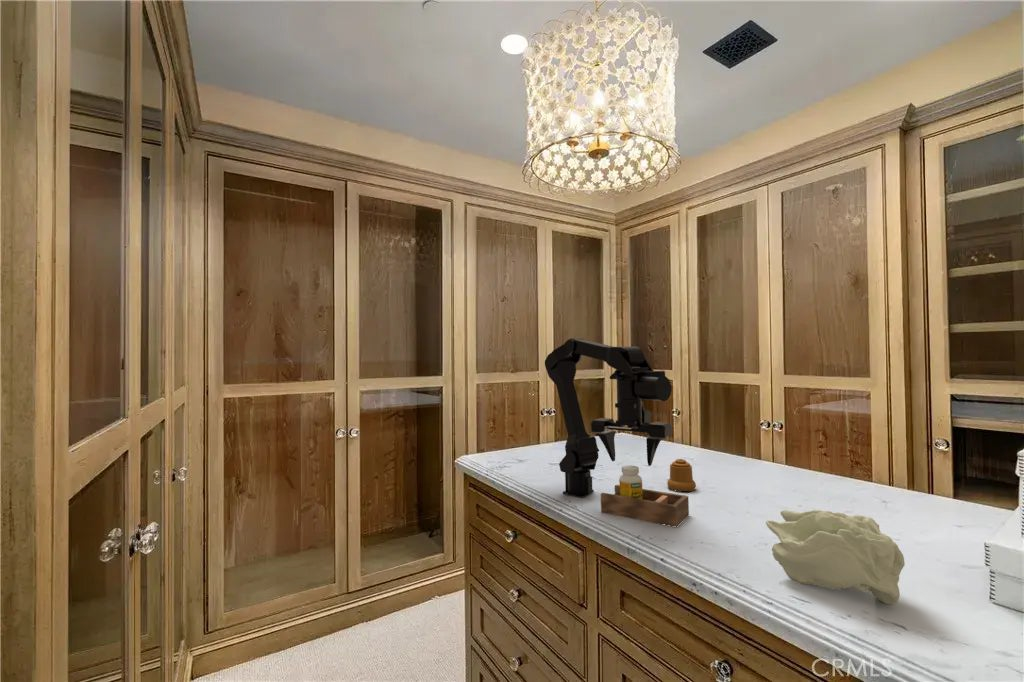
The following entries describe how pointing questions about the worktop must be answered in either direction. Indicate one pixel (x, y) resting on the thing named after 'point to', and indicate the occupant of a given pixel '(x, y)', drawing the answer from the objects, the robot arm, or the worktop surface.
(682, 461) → the ornamental finial
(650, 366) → the robot arm
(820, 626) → the worktop surface
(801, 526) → the wavy plaster lump
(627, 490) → the supplement bottle
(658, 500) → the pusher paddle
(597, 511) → the worktop surface
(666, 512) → the pusher lane
